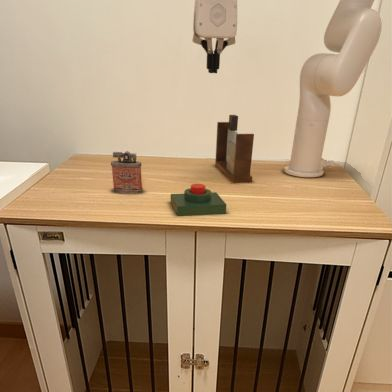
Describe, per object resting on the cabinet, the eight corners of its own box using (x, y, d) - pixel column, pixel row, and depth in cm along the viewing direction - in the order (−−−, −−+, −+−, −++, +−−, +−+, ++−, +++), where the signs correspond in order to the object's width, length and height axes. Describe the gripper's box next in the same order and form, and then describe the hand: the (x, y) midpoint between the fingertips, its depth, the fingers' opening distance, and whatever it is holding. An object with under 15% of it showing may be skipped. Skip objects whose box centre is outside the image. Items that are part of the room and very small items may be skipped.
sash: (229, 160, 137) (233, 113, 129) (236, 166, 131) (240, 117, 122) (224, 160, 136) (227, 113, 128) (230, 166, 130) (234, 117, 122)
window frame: (232, 164, 140) (235, 121, 132) (252, 182, 123) (257, 134, 115) (215, 165, 139) (217, 121, 131) (233, 183, 122) (237, 134, 114)
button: (203, 190, 102) (203, 183, 101) (206, 195, 99) (207, 187, 98) (189, 191, 101) (189, 183, 100) (192, 195, 98) (192, 188, 97)
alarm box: (215, 200, 107) (216, 185, 105) (225, 213, 100) (227, 196, 97) (170, 202, 105) (170, 186, 103) (177, 215, 97) (177, 198, 95)
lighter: (143, 190, 113) (141, 151, 107) (141, 193, 110) (139, 153, 104) (114, 189, 113) (111, 149, 107) (112, 192, 111) (108, 152, 104)
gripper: (187, -28, 89) (186, 73, 100) (252, -24, 92) (244, 74, 103) (181, -24, 95) (181, 71, 106) (242, -20, 98) (236, 72, 109)
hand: (212, 72), depth 105 cm, fingers closed
